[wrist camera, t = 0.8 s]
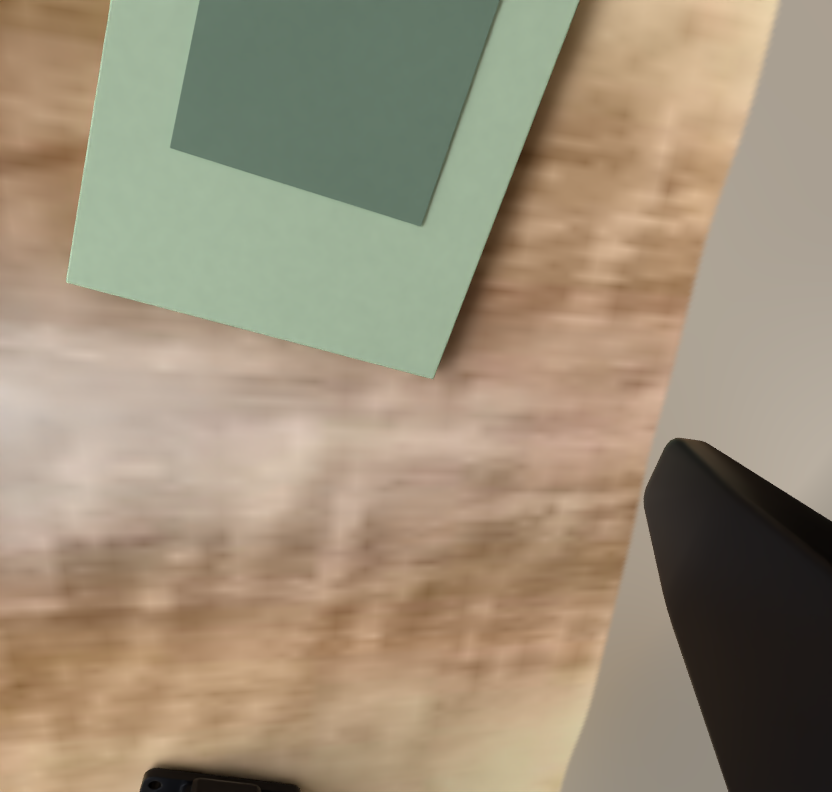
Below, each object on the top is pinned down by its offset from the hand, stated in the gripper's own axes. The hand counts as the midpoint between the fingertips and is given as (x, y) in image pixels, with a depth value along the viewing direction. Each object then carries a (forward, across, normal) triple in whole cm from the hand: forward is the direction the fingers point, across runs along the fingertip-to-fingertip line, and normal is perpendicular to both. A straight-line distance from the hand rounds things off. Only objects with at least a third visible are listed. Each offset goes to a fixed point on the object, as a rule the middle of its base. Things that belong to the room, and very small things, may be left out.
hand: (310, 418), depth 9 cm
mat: (+15, 0, -2) cm, 15 cm away
